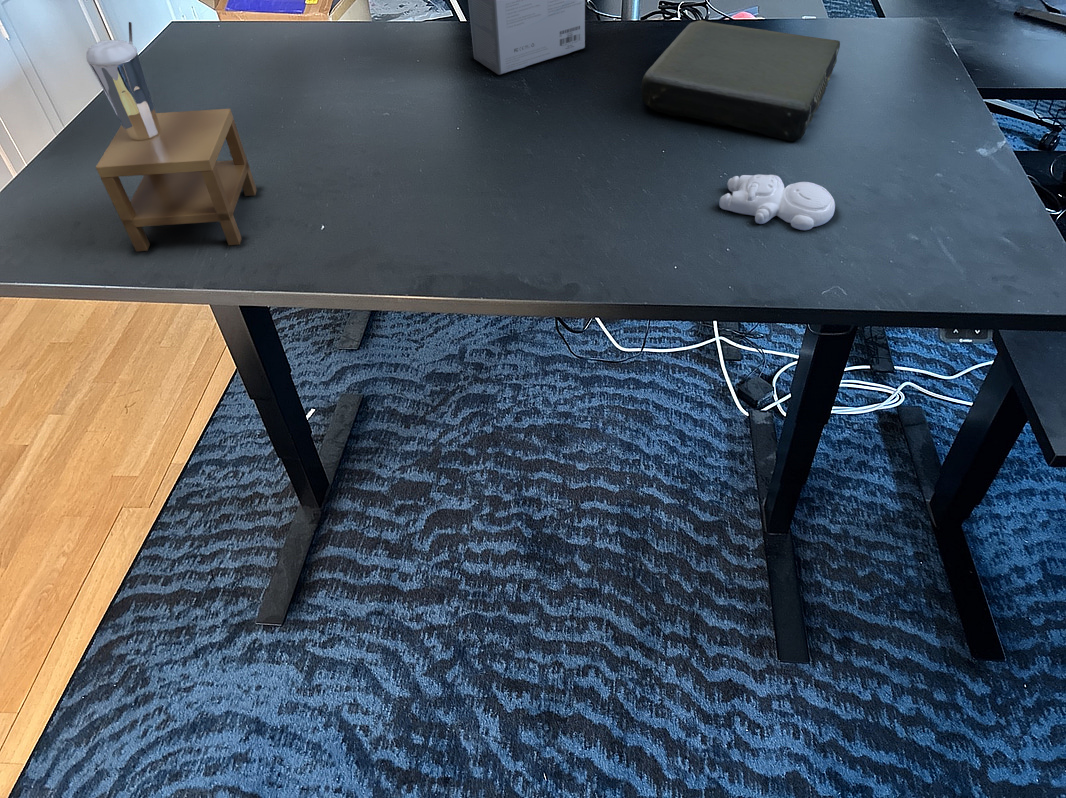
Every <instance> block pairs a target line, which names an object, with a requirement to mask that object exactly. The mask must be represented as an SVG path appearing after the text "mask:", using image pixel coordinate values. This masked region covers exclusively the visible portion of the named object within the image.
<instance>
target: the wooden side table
mask: <svg viewBox="0 0 1066 798" xmlns="http://www.w3.org/2000/svg"><path fill="white" fill-rule="evenodd" d="M156 115H157V118H158V122H159V125H160V128H161V130H160V132H159V133H158V135H156V136H154V137H152V138H150V139H144V140H133V139H130V137H129V136H128V135H127V134H126V132H125V130H124V128H123V126H122V124H121V125H120V126H119V128H118V130H117V132H116V133H115V135H114V136H113V138H112V139H111V140H110V143H109V145H108V146H107V147H106V149H105V151H104V152H103V154H102V156H101V157H100V159H99V161H98V162H97V164H96V165H95V170H96V171H97V174H98V175H99V177H100V180H101V182H102V184H103V187H104V188H105V190H106V192H107V194H108V196H109V198H110V201H111V202H112V204H113V206H114V208H115V211H116V213H117V216H118V217H119V219H120V221H121V223H122V225H123V227H124V230H125V231H126V233H127V235H128V238H129V239H130V242H131V244H132V247H133V248H134V250H135V252H137V253H138V252H148V251H149V248H150V246H151V243H150V241H149V238H148V237H147V234H146V233H145V231H144V228H143V227H156V226H157V227H158V226H171V225H173V226H174V225H185V224H186V225H188V224H201V223H214V222H215V223H217V222H219V223H220V227H221V230H222V231H223V234H224V237H225V240H226V242H227V245H228V246H238V245H241V242H242V235H241V233H240V230H239V228H238V224H237V221H236V218H235V216H234V213H235V210H236V208H237V204H238V201H239V198H240V196H241V193H242V191H243V194H244V197H251V196H256V194H257V187H256V186H257V185H256V183H255V179H254V177H253V174H252V171H251V168H250V164H249V161H248V159H247V158H248V157H247V156H246V151H245V149H244V146H243V143H242V140H241V136H240V134H239V131H238V128H237V125H236V122H235V119H234V116H233V113H232V110H231V108H217V109H201V110H186V111H185V110H184V111H168V112H156ZM225 141H226V144H227V147H228V149H229V153H230V155H231V158H232V159H229V160H218V159H219V156H220V154H221V151H222V148H223V146H224V144H225ZM134 176H142V178H141V181H140V182H139V185H138V186H137V188H136V190H135V192H134V194H133V196H132V198H131V200H130V198H129V196H128V194H127V192H126V189H125V187H124V185H123V183H122V181H121V178H120V177H134Z"/></svg>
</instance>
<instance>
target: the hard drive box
mask: <svg viewBox="0 0 1066 798" xmlns="http://www.w3.org/2000/svg"><path fill="white" fill-rule="evenodd" d="M467 3H468V13H469V21H470V33H471V39H472V40H471V44H472V51H473V53H472V54H473V59H474V60H475V61H477V63H479V64H481V65H483V66H484V67H486V68H487V69H489V70H490V71H492V72H493V73H495V74H496V75H498V76H501V75H503V74H506V73H510V72H513V71H517V70H520V69H524V68H526V67H529V66H532V65H535V64H538V63H541V62H545V61H548V60H551V59H554V58H558V57H562V56H565V55H568V54H571V53H573V52H577V51H580V50H583V49H585V48H586V42H585V41H586V0H467Z"/></svg>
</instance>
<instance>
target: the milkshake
mask: <svg viewBox="0 0 1066 798" xmlns="http://www.w3.org/2000/svg"><path fill="white" fill-rule="evenodd" d="M128 39H129V40H128V41H124V40H120V39H108V40H99V41H98V42H96V43H95V44H93V45H91V46H90V47H88V49H87V51H86V55H85V56H86V57H85V58H86V62H87V63H88V66H89V68H90V69H91V71H92V72H93V74H94V77H95V79H96V80H97V81H98V83H99V85H100V87H101V88H102V90H103V92H104V93H105V96H106V97H107V99H108V101H109V103H110V106H111V107H112V109H113V111H114V113H115V114H116V116H117V119H118V121H119V122H120V124H121V125H122V126H123V128H124V130H125V132H126V134H127V135H128V136H129V137H130V139H133V140H144V139H150V138H152V137H154V136H156V135H158V133H159V132H160V130H161V128H160V125H159V122H158V118H157V115H156V113H157V112H156V109H155V106H154V103H153V100H152V97H151V93H150V90H149V87H148V84H147V81H146V79H145V74H144V71H143V68H142V64H141V60H140V57H139V54H138V50H137V48H136V46H135V45H133V22H131V21H128Z"/></svg>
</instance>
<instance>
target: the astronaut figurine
mask: <svg viewBox="0 0 1066 798" xmlns="http://www.w3.org/2000/svg"><path fill="white" fill-rule="evenodd" d="M726 183H727V189H728V191H729V192H727V193H725V194H723V195H721V196H720V198H719V200H718V201H719V203H718V205H719V208H721V209H722V210H725V211H730V212H733V213H736V214H740V215H747V216H754V221H755V223H756V224H759V225H762V224H763V225H764V224H766V223H768V222H769V221H770V220H771V219H773V218H774V217H778V218H779V219H781V220H782V221H784V222H786V223H788V224H790V226H791V227H792V228H793V229H796V230H800V231H809V230H811V229H813V228H815V227H820V226H823V225H824V224H825V225H826V223H829V221H830V220H831V219H832V218H833V216H834V214H835V210H836V202H835V199H834V197H833V196H832V194H831V193H830V192H829V190H828V189H826V188H825V187H823V186H822V185H819V184H817V183H814V182H810V181H799V182H795V183H790V184H788V185H787V186H786V187H785V184H784V182H783V180H782V178H781V177H780V176H779V175H776V174H761V173H760V174H759V173H758V174H754V175H752V174H741V175H740V176H738V175H734V176H733V177H730V178H729V179H728V180H727V182H726ZM730 192H731V193H730Z"/></svg>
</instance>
